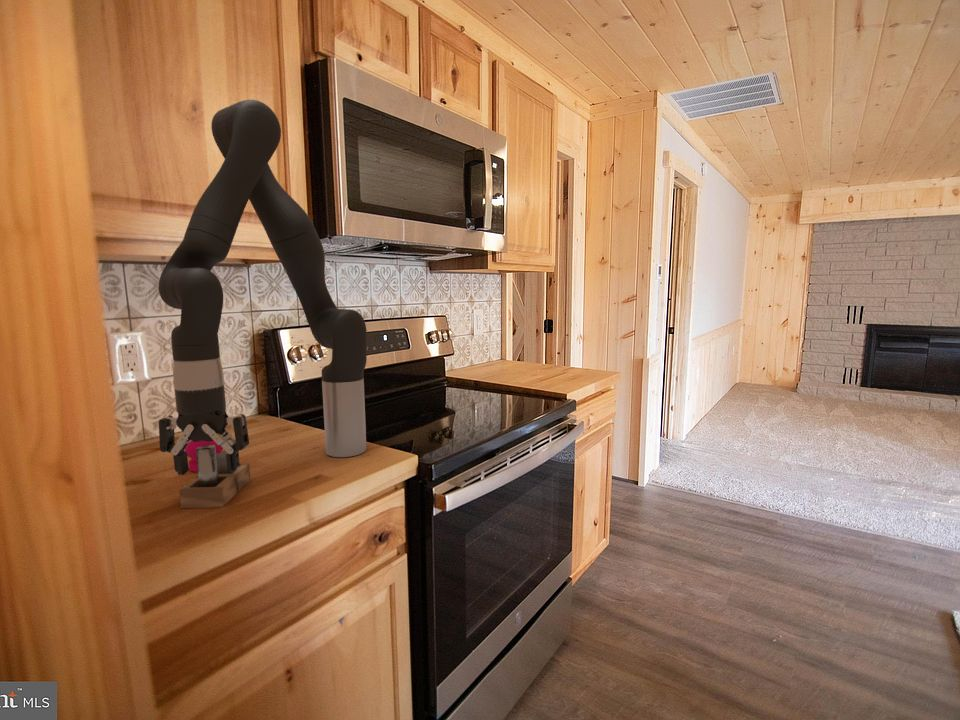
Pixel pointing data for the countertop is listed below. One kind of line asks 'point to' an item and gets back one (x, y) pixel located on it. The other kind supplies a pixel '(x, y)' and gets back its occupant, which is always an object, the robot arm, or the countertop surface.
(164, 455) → the countertop surface
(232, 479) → the wooden divided tray
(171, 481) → the countertop surface
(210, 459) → the pin
